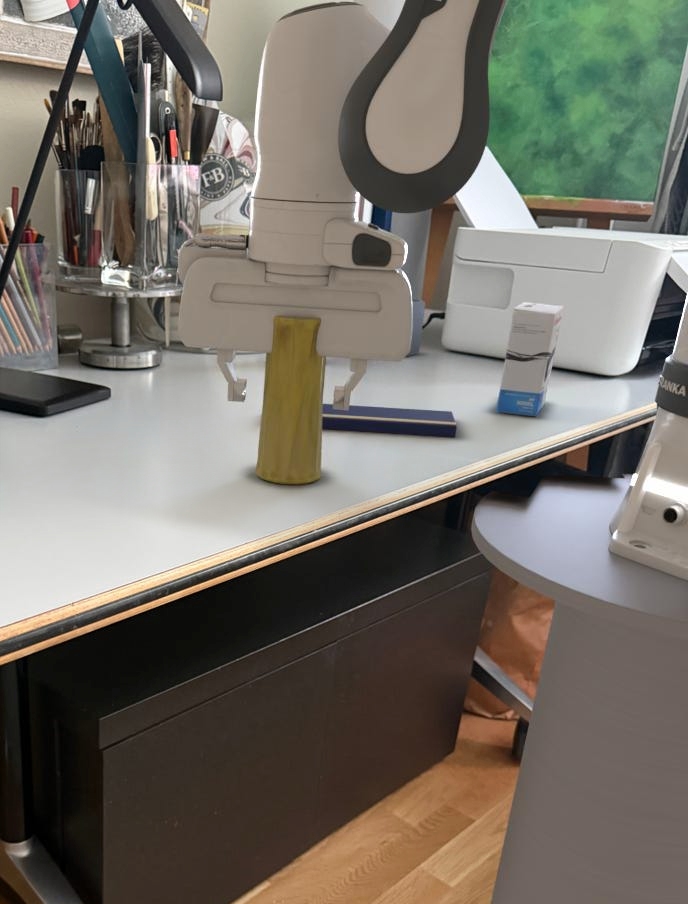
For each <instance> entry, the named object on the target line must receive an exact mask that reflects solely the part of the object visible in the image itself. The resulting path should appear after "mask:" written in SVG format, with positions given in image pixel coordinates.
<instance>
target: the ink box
mask: <svg viewBox="0 0 688 904" xmlns="http://www.w3.org/2000/svg"><path fill="white" fill-rule="evenodd" d="M564 308H565V307H564V306H563V305H556V304H546V303H538V302H537V303H536V302H528V301H526V302H525V301H523V302H522V303H520V304H518V305H516V306H514V307H513V311H512V315H511V322H510V328H509V329H510V330H509V334H508V339H507V346H506V351H505V358H504V363H503V370H502V374H501V380H500V381H501V382H500V386H499V392H498V397H497V403H496V409H495V412H496V413H504V414H513V415H519V416H520V415H521V416H529V417H537V416H538V414H539V413H540V411H541V409H542V408H543V407H544V405H545V404H546V400H547V393H548V388H549V384H550V379H551V374H552V369H553V364H554V358H555V353H556V348H557V343H558V337H559V332H560V326H561V323H562V318H563V317H562V316H563V314H564V313H563V312H564Z"/></svg>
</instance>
